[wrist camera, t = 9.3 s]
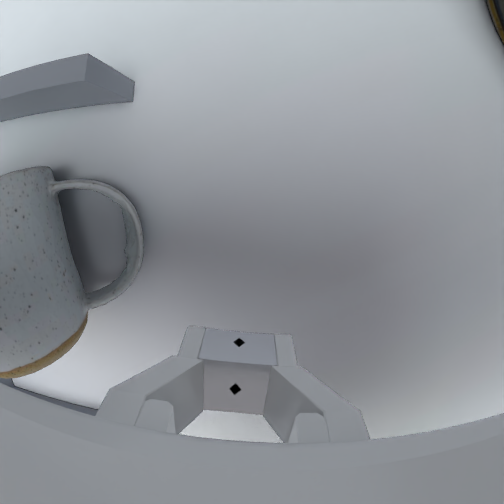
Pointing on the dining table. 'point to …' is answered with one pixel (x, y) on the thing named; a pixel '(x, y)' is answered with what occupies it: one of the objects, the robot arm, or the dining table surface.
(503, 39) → the apothecary jar
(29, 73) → the box
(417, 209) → the dining table surface
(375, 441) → the robot arm
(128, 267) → the ceramic mug
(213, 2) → the dining table surface
